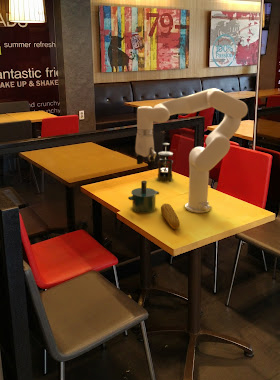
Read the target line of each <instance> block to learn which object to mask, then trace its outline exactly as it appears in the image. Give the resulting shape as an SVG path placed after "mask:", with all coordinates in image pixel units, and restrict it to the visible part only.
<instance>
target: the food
mask: <svg viewBox="0 0 280 380" xmlns="http://www.w3.org/2000/svg"><path fill="white" fill-rule="evenodd" d="M160 213H161V214H162V216H163V218H164V219H165V221H166V222H167V224H168V225H169V226H170V227H171V228H172V229H174V230H178V229H179V228H180V225H181V224H180V223H181V222H180V219H179V217H178V215H177V213H176V211H175V209H174V208H173V206H172V204H169V203H162V205H161V206H160Z"/></svg>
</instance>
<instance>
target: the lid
mask: <svg viewBox="0 0 280 380" xmlns="http://www.w3.org/2000/svg"><path fill="white" fill-rule="evenodd" d="M147 182H148V181H147V180H141V182H140V185H141V186H140V187H137V188H133V189H132V190H131V192H130V193H131V196H132V195H133V196H136V197H140V198H148V197H153V196H155V195H156V191H157V190H155V189H153V188H149V187H147V185H148V184H147ZM156 196H157V195H156Z"/></svg>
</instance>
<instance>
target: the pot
mask: <svg viewBox="0 0 280 380" xmlns="http://www.w3.org/2000/svg"><path fill="white" fill-rule="evenodd" d="M155 191H156V195H155V196H153V197H148V198H140V197H136V196H133V195H132V194H131V196H128V200H129V201H131V202H132V203H131V206H132V207H131V209H132V210H133V211H134V212H137V213H141V214H148V213H152V212H154V211H155V210H156V206H157V205H156V204H157V203H156V202H157V201H156V198H157V195H159V194H160V191H159V190H155Z"/></svg>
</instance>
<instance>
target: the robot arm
mask: <svg viewBox="0 0 280 380" xmlns="http://www.w3.org/2000/svg"><path fill="white" fill-rule="evenodd" d="M210 108H213V109H215V110H217V111H219V112H221V113H223V114H224V116H223V119H222V121H220V123H219V124H218V125H217V126H216V127H214V129H213V130H212V131H211V132H210V133H209V134H208V135H207V137H206V139H205V144H206V146H205V147H204V146H203V147H202V146H196V147H194V148H192V149H191V151H190V152H189V156H188V163H189V165H188V167H189V173H188V174H189V178H188V197H187V198H188V199H187V200H188V201H187V202H186V203H185V205H184V208H185V209H186V210H187V211H189V212H191V213H196V214H204V213H207V212H209V211H210V210H211V209H212V208H213V207H212V206H211V205H210V202H209V200H208V198H209V181H210V180H209V179H210V171H211V170H212V169H213V168H215V166H216V165H218V163H219V162H220V161H221V160H222V159H224V157H226V155H227V154H228V152H229V151H230V148H231V142H230V139H231V138H233V136H234V135H235V134H236V133H237V132H238V130H239V129H240V127H241V123H242V119H244V118H245V117H246V116H247V114H248V111H249V110H248V105H247V104H246V102H244V101H242V100H240V99H239V98H237V97H234V96H232V95H230V94H228V93H226V92H224V91H222V90H220V89H218V88H215V87H214V88H208V89H205V90H202V91H198V92H196V93H193V94H189V95H185V96H181V97H178V98H172V99H169V100H166V101H163V102H160V103H158V104H155V105H154V106H153V107H152V106H150V105H142V106H138V107H137V109H136V124H137V125H136V126H137V128H136V129H137V130H136V131H137V132H136V137H135V146H134V149H135V156H136V165H142V164H144V158H147V170H153V169H155V159H156V157H157V152H156V151H155V140H154V123H166V122H167V121H169V120H170V116H173V115H178V114H195V113H197V112H200V111H204V110H206V109H210Z"/></svg>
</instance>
